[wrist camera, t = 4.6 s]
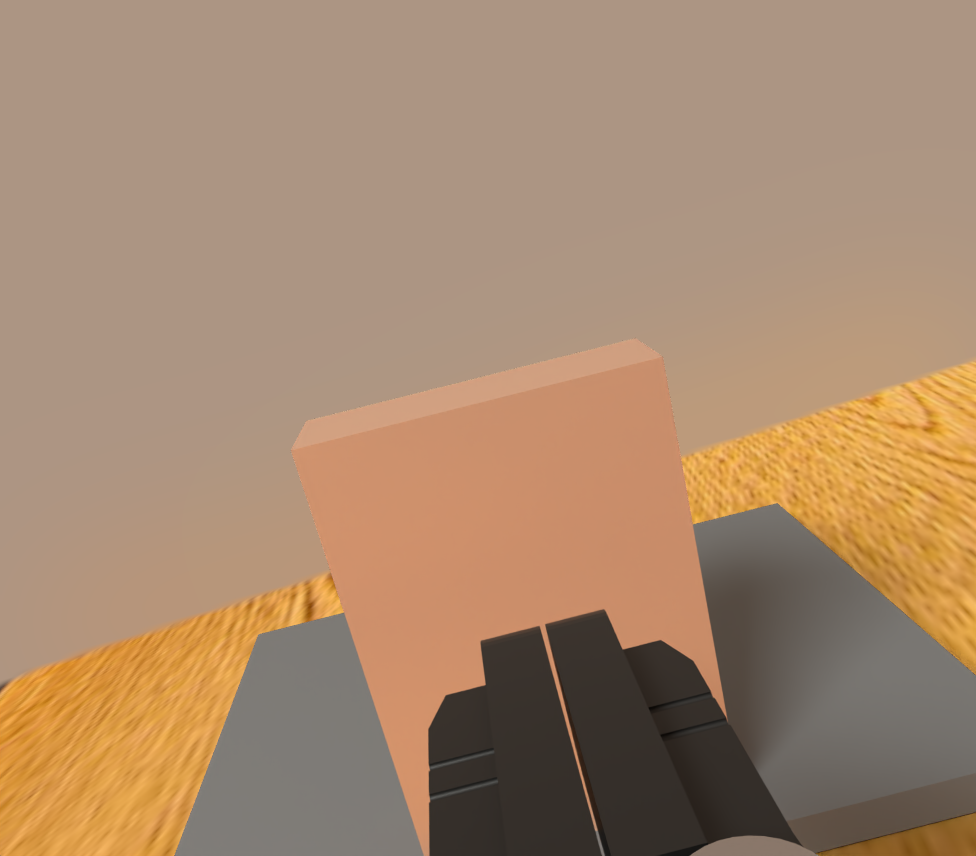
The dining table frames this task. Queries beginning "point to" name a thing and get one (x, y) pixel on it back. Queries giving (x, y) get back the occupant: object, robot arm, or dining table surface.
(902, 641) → the mat
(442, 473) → the tile
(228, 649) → the dining table surface
